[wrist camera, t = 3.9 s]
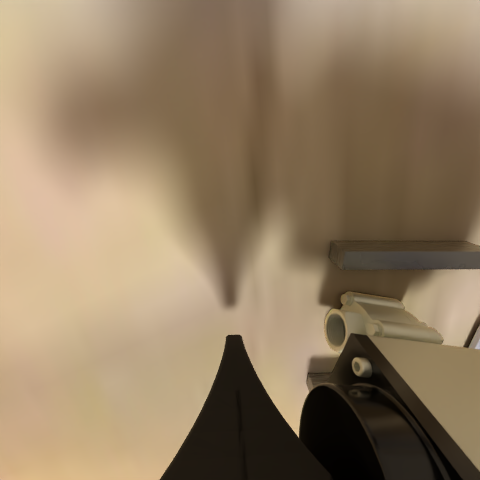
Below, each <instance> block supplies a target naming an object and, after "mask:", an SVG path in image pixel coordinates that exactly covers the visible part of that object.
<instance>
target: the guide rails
mask: <svg viewBox="0 0 480 480" xmlns="http://www.w3.org/2000/svg"><path fill="white" fill-rule="evenodd" d="M329 258H330V259H331V260H332V261H333V262H334V263H335V264H336V265H337V266H338V267H339V268H340V269H341V270H402V269H480V246H478V245H475V244H472V243H469V242H466V241H332V242H331V248H330V253H329ZM331 374H332V373H314V374H308V379H307V386H308V389H309V392H310V391H311V390H312V388H313V387H315V386H316V385H318V384H321V383H327V382H328V380H329V378H330V376H331Z"/></svg>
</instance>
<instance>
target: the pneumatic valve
mask: <svg viewBox="0 0 480 480" xmlns="http://www.w3.org/2000/svg"><path fill="white" fill-rule="evenodd" d="M341 303H342V304H343V306H342V308H341V309H333V308H332V309H331V310H330V312H329V313H328V314H327V316H326V319H325V324H324V332H325V338H326V341H327V343H328V345H329V346H330V348H331V349H332V350H334V351H336V352H339V353H341V355H340V357H339V359H338V361H337V363H336V365H335V368H334V370H333V372H332V374H331V376H330V378H329V380H328V382H327V383H321V384H318V385H316V386H315V387H313V388H312V390H311V391H310V392H309V394H308V395H307V397H306V399H305V402H304V405H303V408H302V413H301V419H300V428H299V439H300V440H301V441H302V442H303V444H304V445H305V446H306V447H307V449H308V450H309V451H310V452H311V453H312V454H313V455H314V457H315V458H316V459H317V460H318V461H319V462H320V463H321V464H322V466H323V467H324V468H325V469H326V470H327V471H328V472H329V473H330V474H331V476H332V478H333V480H480V349H472V348H464V347H457V346H449V345H441V344H442V343H443V337H442V336H441V334H440V333H438V331H437V330H435V329H434V328H431V327H428V326H427V325H426V324H425V323H423V322H420V321H419V320H418V319H417V318H416V317H415V316H413V315H412V314H411V313H409V312H407V311H406V310H405V307H404V305H403V304H402V303H401V302H400V301H399V300H398V299H394V298H388V297H381V296H375V295H369V294H362V293H356V292H350V291H348V292H346V293H345V295H344V294H342V296H341Z"/></svg>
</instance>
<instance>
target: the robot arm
mask: <svg viewBox="0 0 480 480" xmlns="http://www.w3.org/2000/svg"><path fill="white" fill-rule="evenodd" d="M469 348H472V349H480V325H479V327H478V329H477V331H476V333H475V335H474V337H473V339H472V341H471V344H470V346H469ZM160 480H333V478H332V476H331V474H330V473H329V472H328V471H327V470H326V469H325V468H324V467H323V466H322V464H321V463H320V462H319V461H318V460H317V459H316V458H315V457H314V455H313V454H312V453H311V452H310V451H309V450H308V449H307V447H306V446H305V445H304V444H303V442H302V441H301V440H300V439H299V438H298V436H297V435H296V434H295V432H294V431H293V430H292V428H291V427H290V426H289V424H288V423H287V422H286V421H285V419H284V418H283V416H282V415H281V414H280V412H279V411H278V409H277V408H276V406H275V405H274V403H273V402H272V400H271V399H270V397H269V395H268V394H267V392H266V390H265V389H264V387H263V385H262V383H261V381H260V380H259V378H258V376H257V374H256V372H255V370H254V368H253V366H252V364H251V361H250V359H249V357H248V354H247V352H246V349H245V347H244V344H243V340H242V336H240V335H228V336H227V337H226V343H225V349H224V353H223V357H222V360H221V363H220V366H219V370H218V372H217V375H216V378H215V380H214V383H213V385H212V388H211V390H210V393H209V395H208V397H207V399H206V401H205V404H204V406H203V408H202V410H201V412H200V414H199V416H198V418H197V420H196V422H195V423H194V425H193V427H192V429H191V431H190V432H189V434H188V436H187V438H186V439H185V441H184V443H183V444H182V446H181V448H180V449H179V451H178V453H177V454H176V456H175V457H174V459H173V461H172V462H171V464H170V465H169V467H168V468H167V470H166V471H165V473H164V474H163V476H162V477H161V479H160Z"/></svg>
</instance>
